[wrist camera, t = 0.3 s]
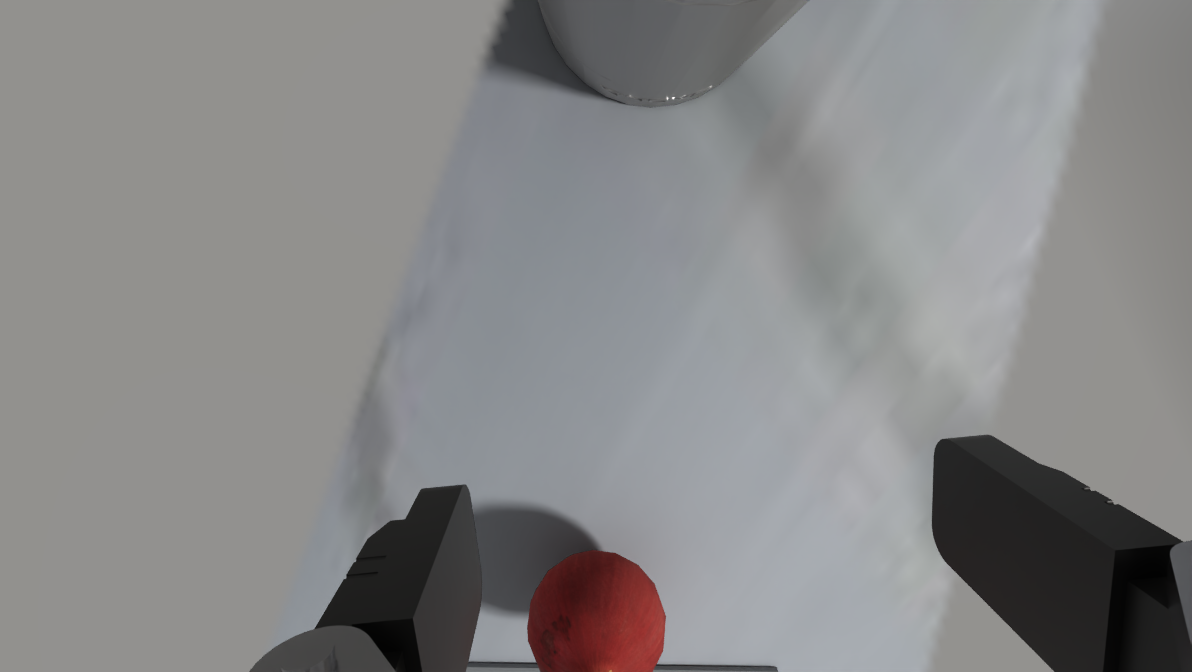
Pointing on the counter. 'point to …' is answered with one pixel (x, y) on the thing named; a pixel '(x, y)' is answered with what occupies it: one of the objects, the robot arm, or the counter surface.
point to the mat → (532, 670)
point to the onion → (596, 616)
